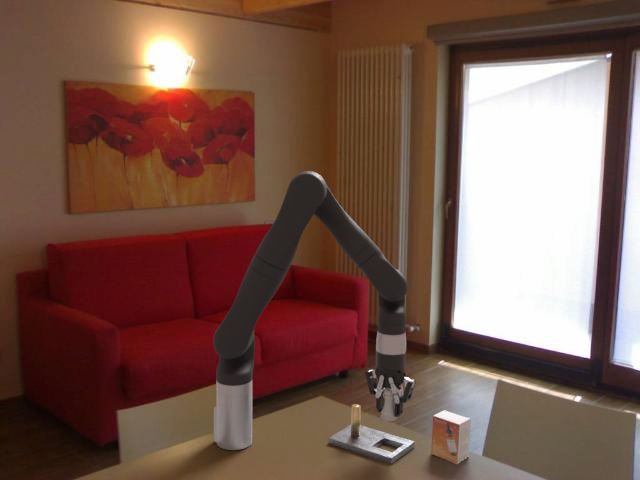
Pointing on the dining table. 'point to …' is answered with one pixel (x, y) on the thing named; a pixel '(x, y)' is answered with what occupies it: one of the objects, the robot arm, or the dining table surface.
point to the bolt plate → (370, 440)
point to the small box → (450, 436)
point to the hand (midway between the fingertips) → (389, 413)
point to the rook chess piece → (388, 406)
